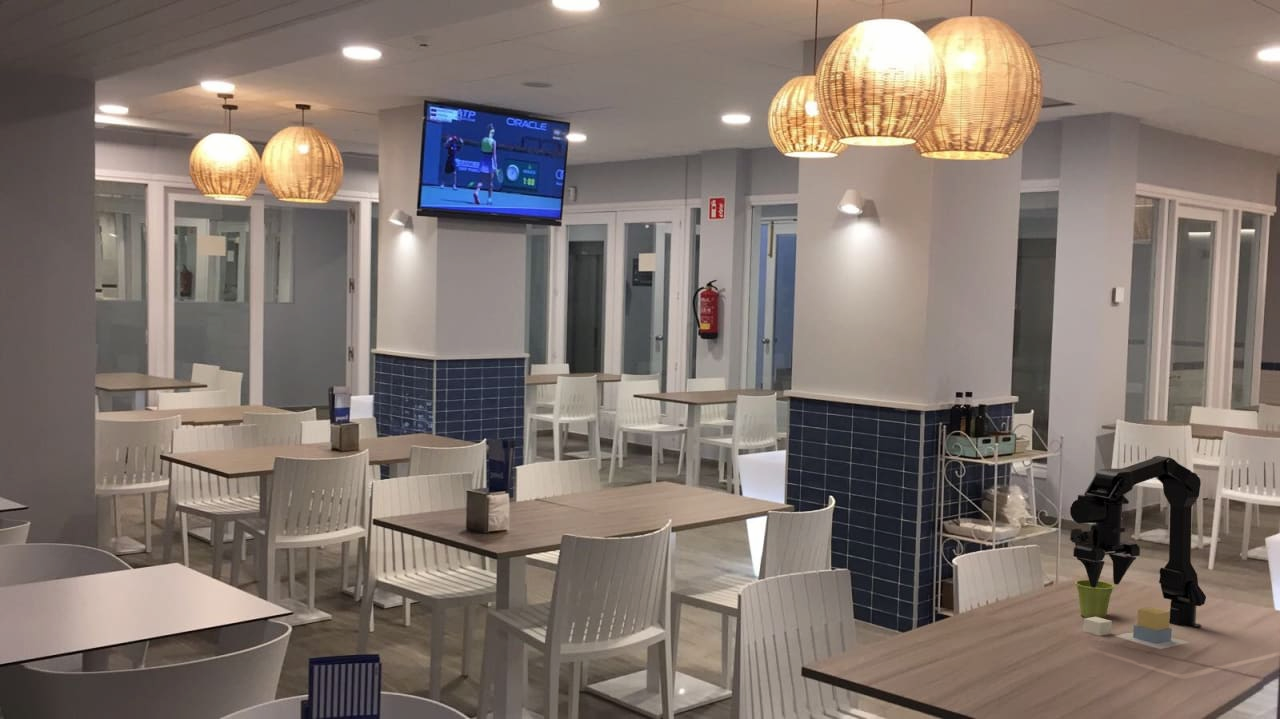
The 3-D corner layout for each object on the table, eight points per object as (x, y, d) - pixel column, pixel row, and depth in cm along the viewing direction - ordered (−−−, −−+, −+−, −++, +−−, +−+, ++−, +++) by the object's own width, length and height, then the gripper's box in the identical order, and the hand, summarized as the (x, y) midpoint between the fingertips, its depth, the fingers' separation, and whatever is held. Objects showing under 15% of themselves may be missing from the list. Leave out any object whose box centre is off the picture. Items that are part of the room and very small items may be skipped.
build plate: (1144, 633, 282) (1144, 629, 282) (1189, 645, 272) (1190, 642, 272) (1114, 639, 276) (1114, 635, 276) (1159, 652, 265) (1160, 648, 265)
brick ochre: (1149, 623, 277) (1150, 606, 277) (1168, 628, 273) (1169, 611, 273) (1137, 625, 274) (1138, 609, 274) (1156, 630, 270) (1157, 613, 270)
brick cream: (1094, 632, 282) (1095, 616, 281) (1111, 637, 278) (1111, 621, 278) (1083, 634, 279) (1084, 618, 279) (1099, 639, 275) (1100, 623, 275)
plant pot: (1107, 623, 290) (1108, 590, 290) (1069, 616, 296) (1070, 583, 295) (1117, 616, 297) (1118, 583, 297) (1079, 610, 303) (1081, 578, 303)
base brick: (1148, 634, 278) (1148, 622, 278) (1171, 640, 273) (1171, 628, 273) (1133, 637, 275) (1133, 625, 274) (1155, 643, 270) (1156, 631, 269)
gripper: (1102, 514, 289) (1098, 575, 289) (1056, 518, 278) (1052, 582, 279) (1142, 522, 279) (1138, 585, 280) (1096, 526, 269) (1092, 592, 269)
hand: (1104, 585), depth 277 cm, fingers open, 9 cm apart
